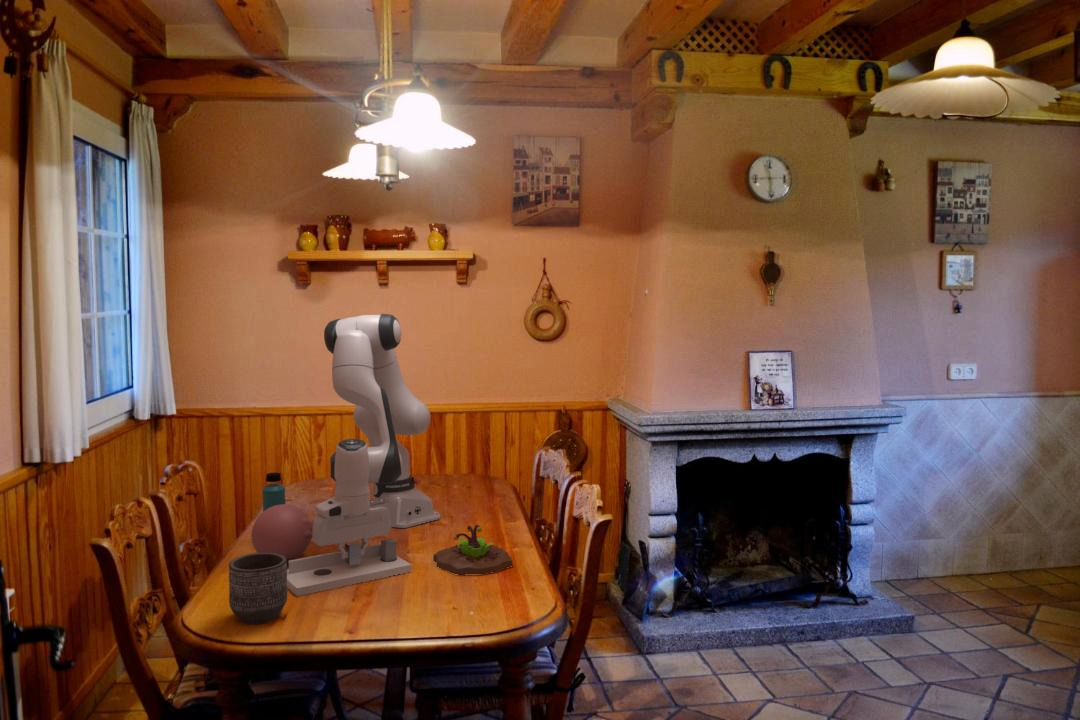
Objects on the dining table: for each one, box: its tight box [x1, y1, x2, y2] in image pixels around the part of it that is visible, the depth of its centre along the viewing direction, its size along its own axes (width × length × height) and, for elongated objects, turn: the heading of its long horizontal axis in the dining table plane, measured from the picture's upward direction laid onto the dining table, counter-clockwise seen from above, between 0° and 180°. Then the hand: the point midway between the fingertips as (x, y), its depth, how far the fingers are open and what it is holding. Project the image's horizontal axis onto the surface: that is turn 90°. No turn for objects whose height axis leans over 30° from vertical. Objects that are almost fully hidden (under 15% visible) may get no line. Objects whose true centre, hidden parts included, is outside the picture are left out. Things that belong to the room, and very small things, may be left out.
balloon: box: [251, 504, 314, 563], centre depth 215 cm, size 15×20×15 cm
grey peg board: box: [287, 538, 412, 597], centre depth 205 cm, size 30×14×7 cm, turn 126°
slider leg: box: [344, 540, 361, 565], centre depth 207 cm, size 3×4×5 cm, turn 36°
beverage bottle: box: [262, 471, 287, 512], centre depth 232 cm, size 6×7×20 cm
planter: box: [228, 552, 288, 625], centre depth 178 cm, size 12×12×13 cm
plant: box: [432, 524, 513, 576], centre depth 216 cm, size 20×20×11 cm
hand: (352, 556), depth 206 cm, fingers closed on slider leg, 3 cm apart
